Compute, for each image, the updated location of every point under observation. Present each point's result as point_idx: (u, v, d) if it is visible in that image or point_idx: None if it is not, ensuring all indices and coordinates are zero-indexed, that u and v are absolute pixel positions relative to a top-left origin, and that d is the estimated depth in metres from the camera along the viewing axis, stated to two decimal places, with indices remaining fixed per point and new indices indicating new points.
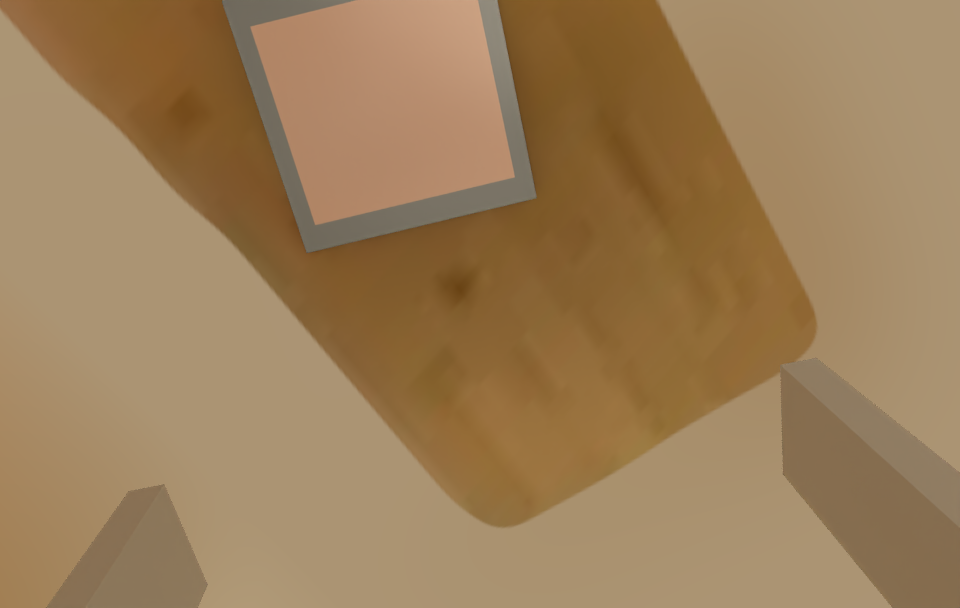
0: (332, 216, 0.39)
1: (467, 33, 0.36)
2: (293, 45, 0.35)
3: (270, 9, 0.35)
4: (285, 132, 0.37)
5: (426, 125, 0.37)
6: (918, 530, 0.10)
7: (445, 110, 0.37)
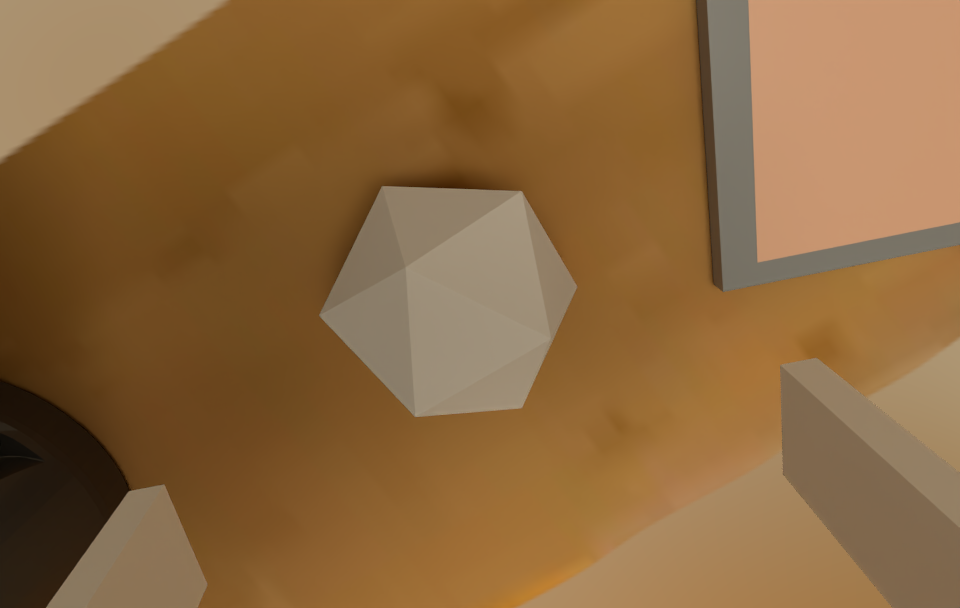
0: None
1: None
2: (789, 211, 0.27)
3: (743, 235, 0.27)
4: (889, 235, 0.27)
5: (935, 29, 0.25)
6: (918, 530, 0.10)
7: None
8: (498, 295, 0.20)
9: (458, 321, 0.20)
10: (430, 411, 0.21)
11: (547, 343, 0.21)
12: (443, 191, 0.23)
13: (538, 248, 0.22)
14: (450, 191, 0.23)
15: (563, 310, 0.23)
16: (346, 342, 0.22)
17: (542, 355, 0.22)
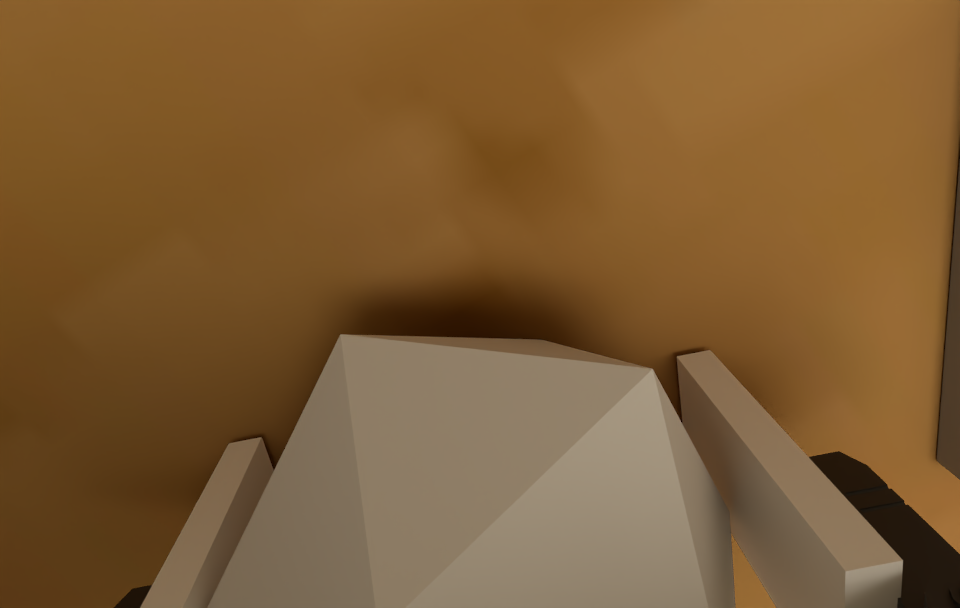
0: None
1: None
2: None
3: None
4: None
5: None
6: (764, 502, 0.11)
7: None
8: None
9: None
10: None
11: None
12: (472, 358, 0.10)
13: (690, 498, 0.10)
14: (487, 357, 0.10)
15: None
16: None
17: None
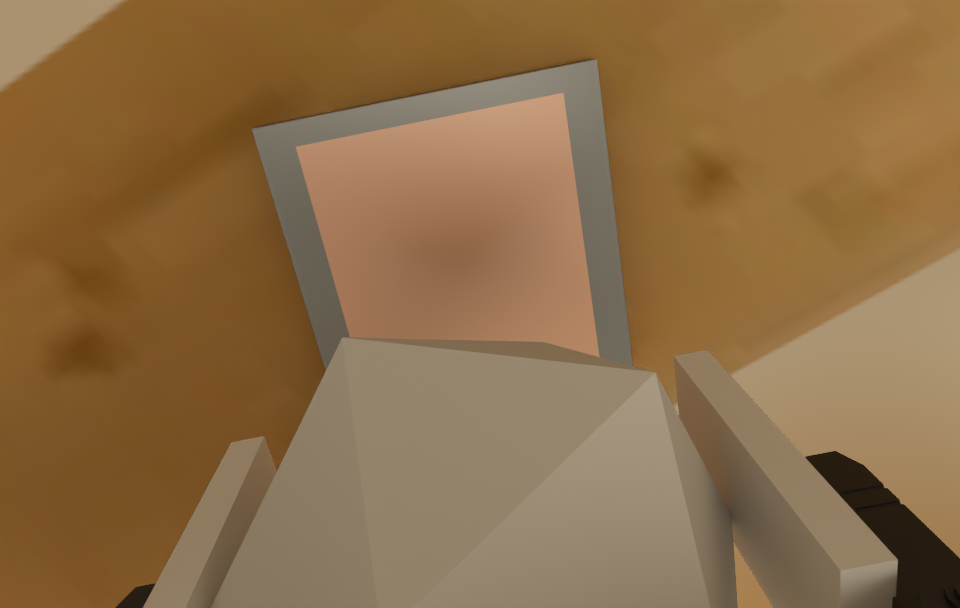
0: (591, 336, 0.30)
1: (370, 155, 0.27)
2: None
3: None
4: None
5: (485, 213, 0.28)
6: (761, 501, 0.11)
7: (467, 188, 0.28)
8: None
9: None
10: None
11: None
12: (475, 360, 0.10)
13: (693, 503, 0.10)
14: (489, 361, 0.10)
15: None
16: None
17: None
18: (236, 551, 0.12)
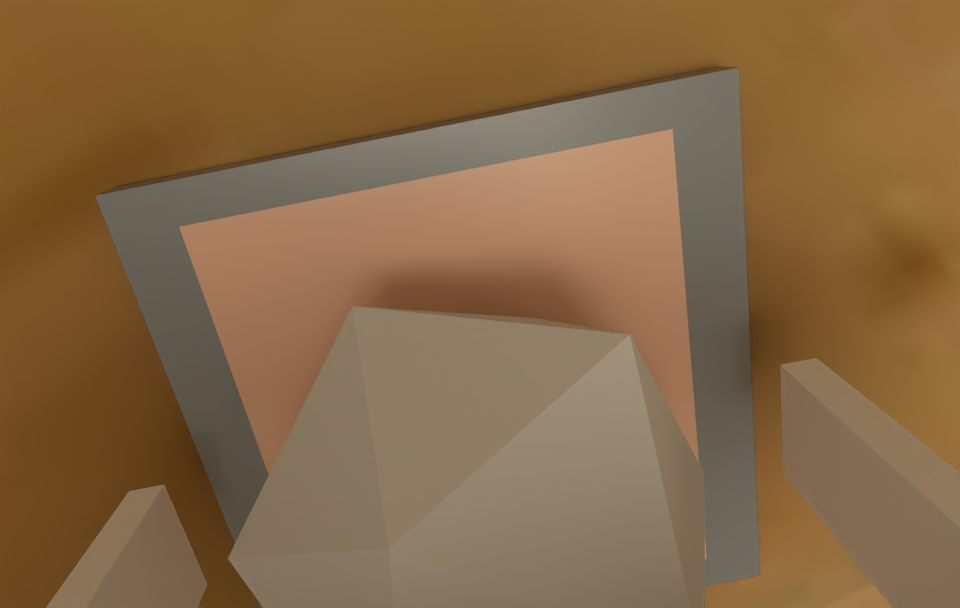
0: None
1: (317, 241, 0.15)
2: None
3: None
4: None
5: None
6: (918, 530, 0.10)
7: (492, 296, 0.16)
8: (593, 584, 0.09)
9: None
10: None
11: None
12: (470, 325, 0.11)
13: (662, 450, 0.11)
14: (484, 325, 0.11)
15: (703, 559, 0.12)
16: None
17: None
18: None
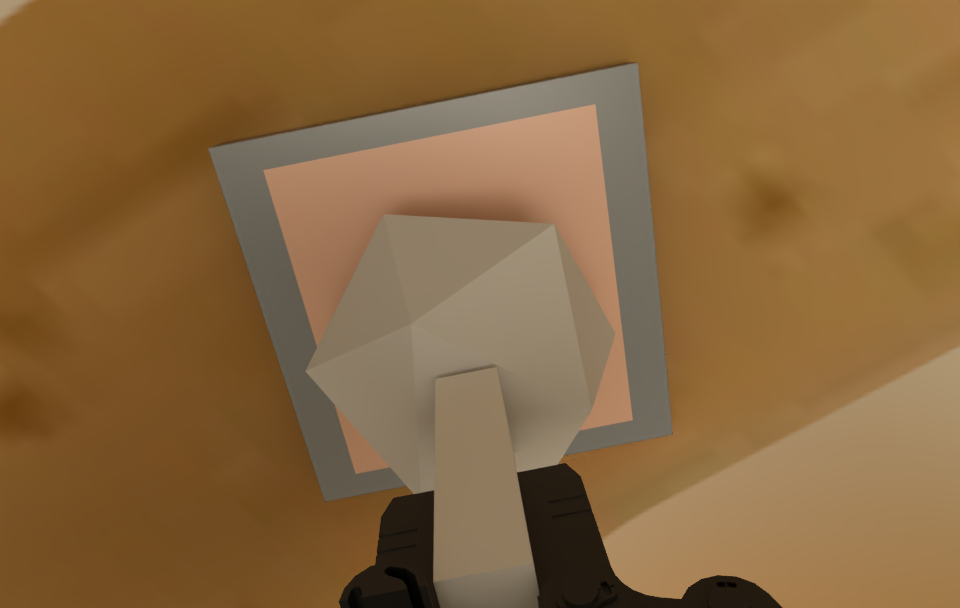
0: (623, 395, 0.25)
1: (355, 181, 0.22)
2: None
3: (333, 448, 0.25)
4: None
5: None
6: None
7: None
8: (527, 356, 0.16)
9: None
10: None
11: (586, 415, 0.17)
12: (457, 222, 0.18)
13: (574, 294, 0.18)
14: (466, 222, 0.18)
15: (603, 368, 0.19)
16: (338, 406, 0.18)
17: (579, 427, 0.17)
18: None
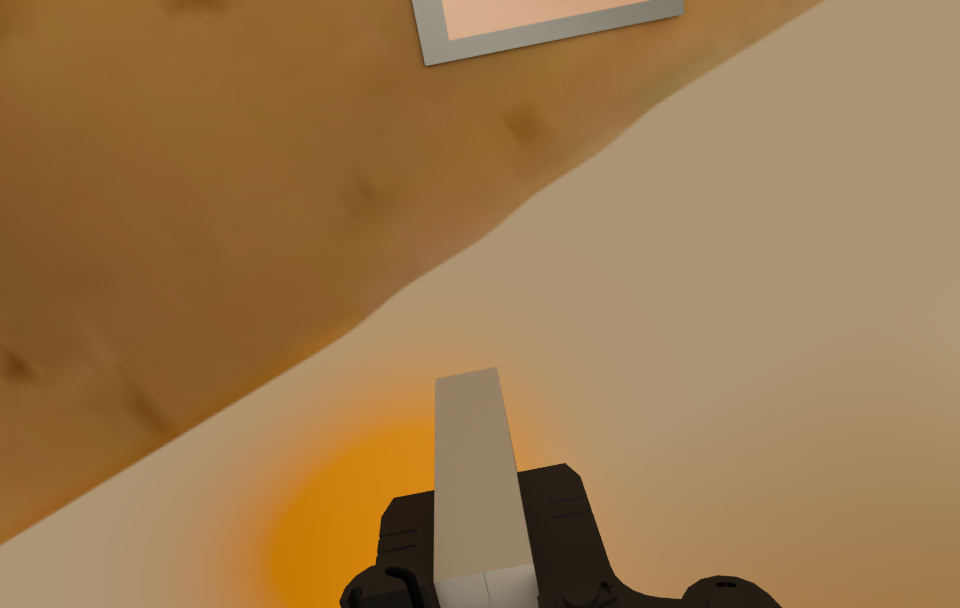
0: None
1: None
2: None
3: (433, 16, 0.34)
4: (553, 19, 0.35)
5: None
6: None
7: None
8: None
9: None
10: None
11: None
12: None
13: None
14: None
15: None
16: None
17: None
18: None
